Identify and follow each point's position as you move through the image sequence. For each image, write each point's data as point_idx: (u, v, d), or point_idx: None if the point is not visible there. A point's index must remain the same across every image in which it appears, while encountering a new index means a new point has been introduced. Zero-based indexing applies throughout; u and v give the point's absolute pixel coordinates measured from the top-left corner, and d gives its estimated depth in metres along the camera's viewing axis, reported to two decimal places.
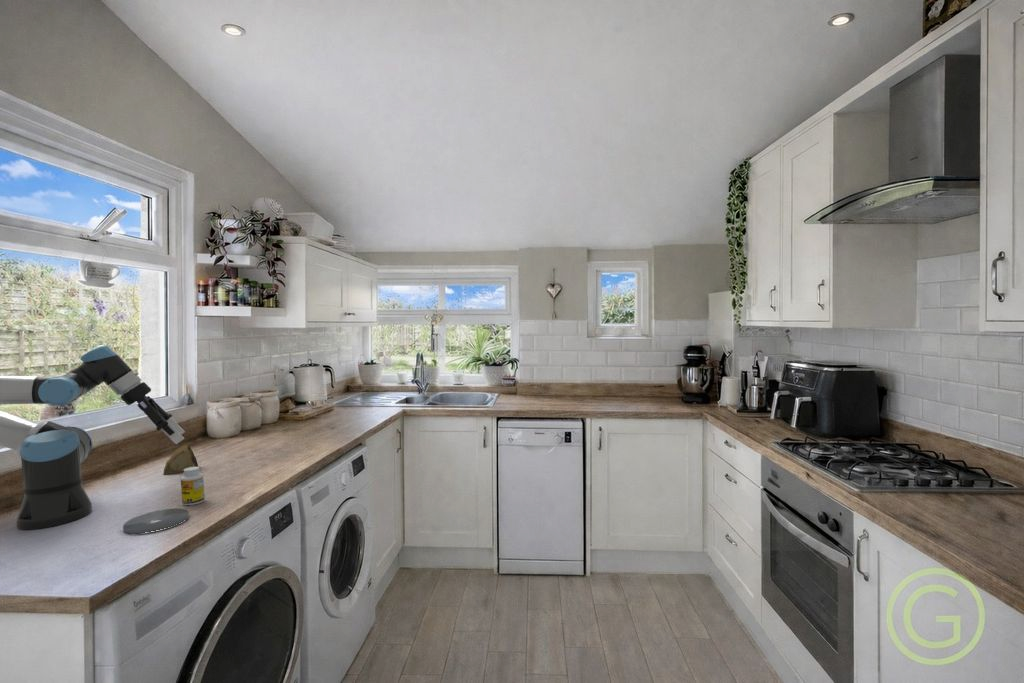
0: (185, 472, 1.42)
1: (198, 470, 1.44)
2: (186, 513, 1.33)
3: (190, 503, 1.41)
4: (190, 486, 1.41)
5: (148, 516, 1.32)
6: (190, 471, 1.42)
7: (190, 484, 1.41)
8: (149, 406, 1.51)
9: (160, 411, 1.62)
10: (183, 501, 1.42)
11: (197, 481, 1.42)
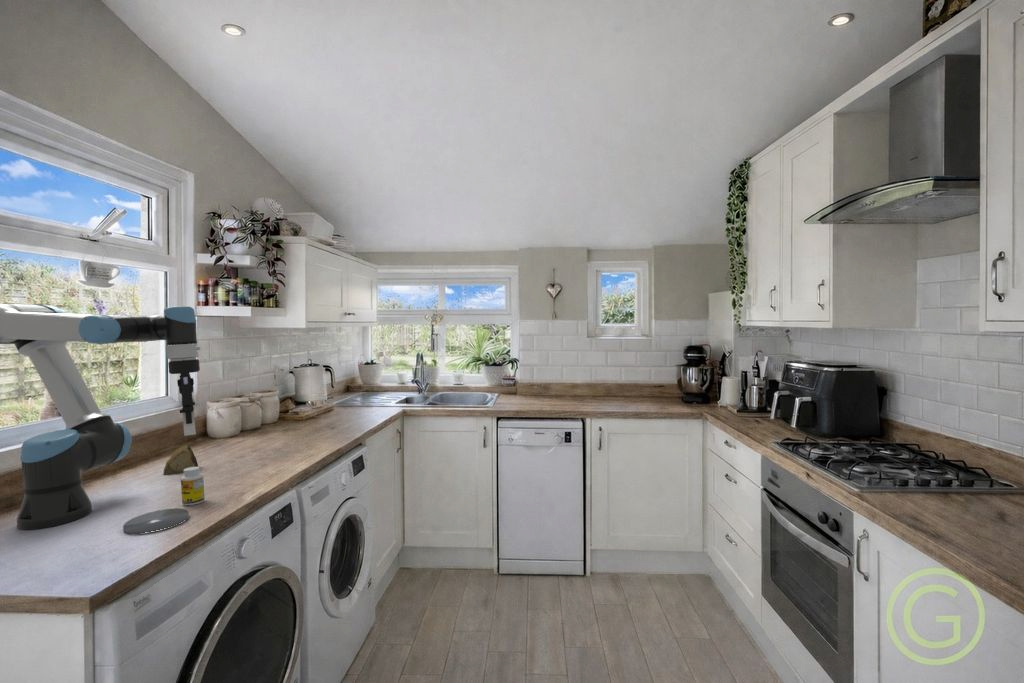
0: (185, 472, 1.42)
1: (198, 470, 1.44)
2: (186, 513, 1.33)
3: (190, 503, 1.41)
4: (190, 486, 1.41)
5: (148, 516, 1.32)
6: (190, 471, 1.42)
7: (190, 484, 1.41)
8: (189, 385, 1.38)
9: None
10: (183, 501, 1.42)
11: (197, 481, 1.42)
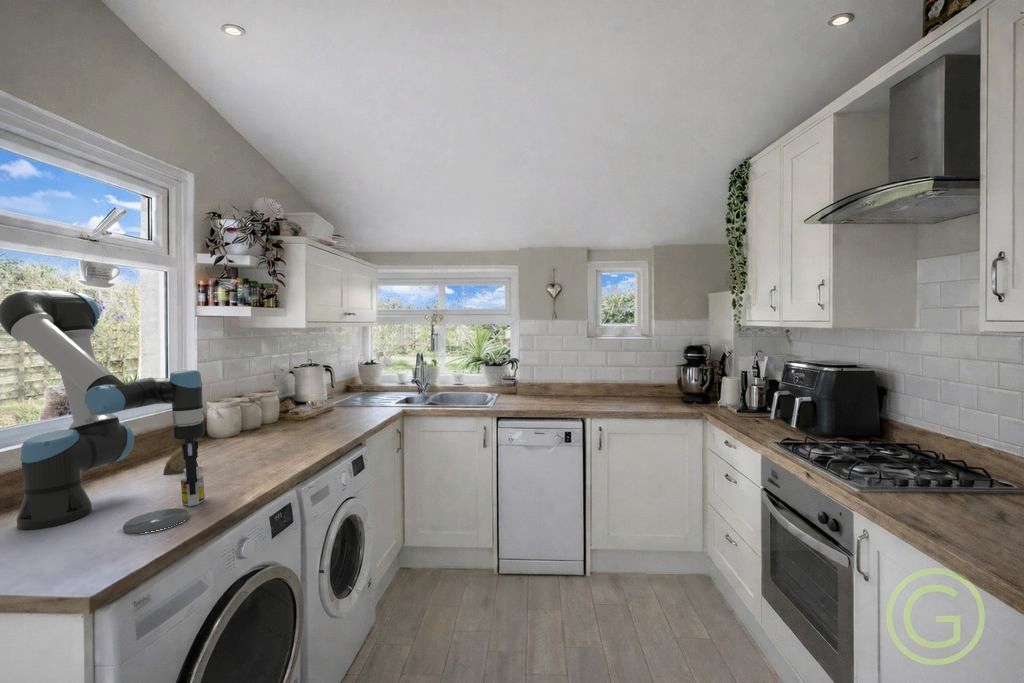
0: (185, 472, 1.42)
1: (198, 470, 1.44)
2: (186, 513, 1.33)
3: None
4: None
5: (148, 516, 1.32)
6: None
7: None
8: (193, 457, 1.39)
9: None
10: (183, 501, 1.42)
11: None
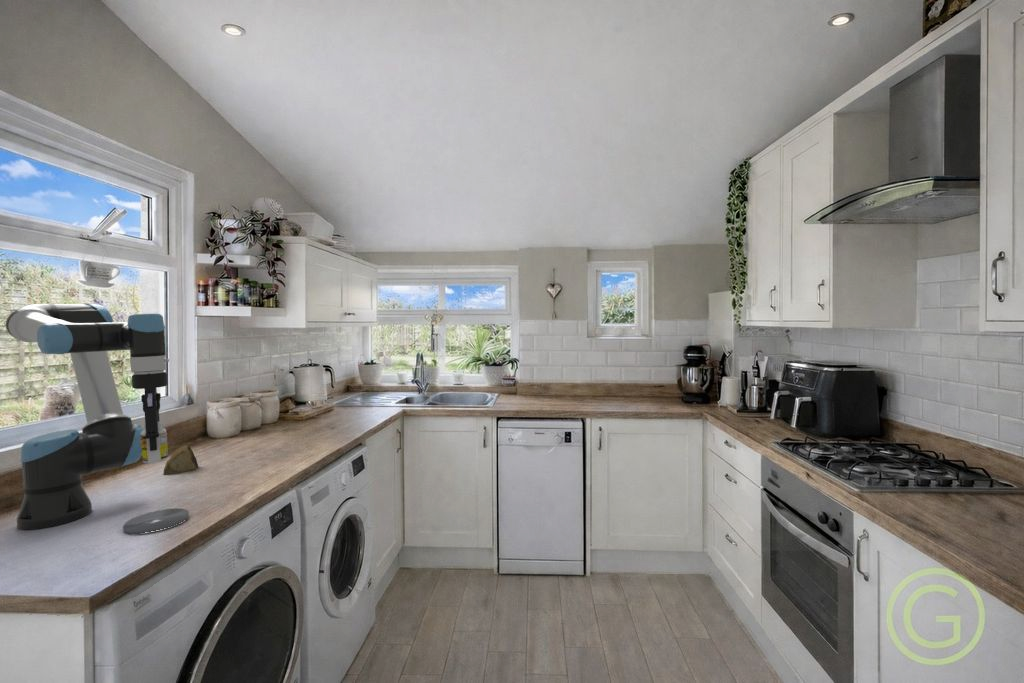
0: None
1: (160, 424, 1.29)
2: (186, 513, 1.33)
3: None
4: None
5: (148, 516, 1.32)
6: None
7: None
8: (154, 408, 1.24)
9: None
10: (143, 459, 1.27)
11: (159, 436, 1.28)
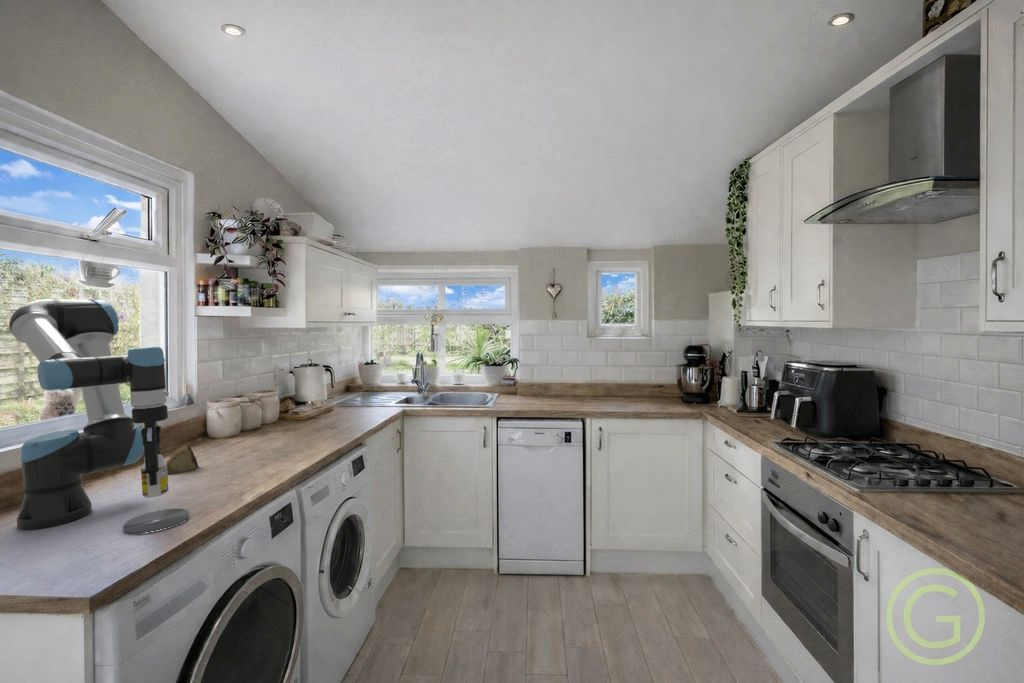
0: None
1: (161, 458, 1.29)
2: (186, 513, 1.33)
3: None
4: None
5: (148, 516, 1.32)
6: None
7: None
8: (154, 442, 1.24)
9: None
10: (143, 493, 1.27)
11: (159, 470, 1.28)
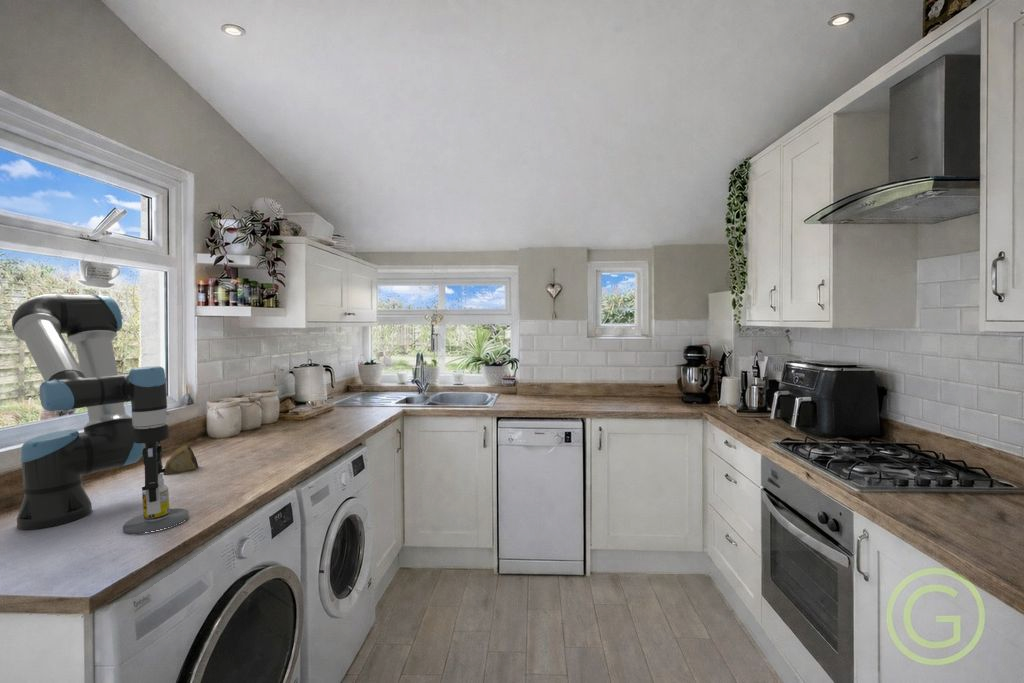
0: None
1: (162, 482, 1.29)
2: (186, 513, 1.33)
3: (152, 519, 1.27)
4: None
5: None
6: None
7: None
8: (154, 458, 1.23)
9: None
10: (145, 517, 1.27)
11: (161, 494, 1.28)
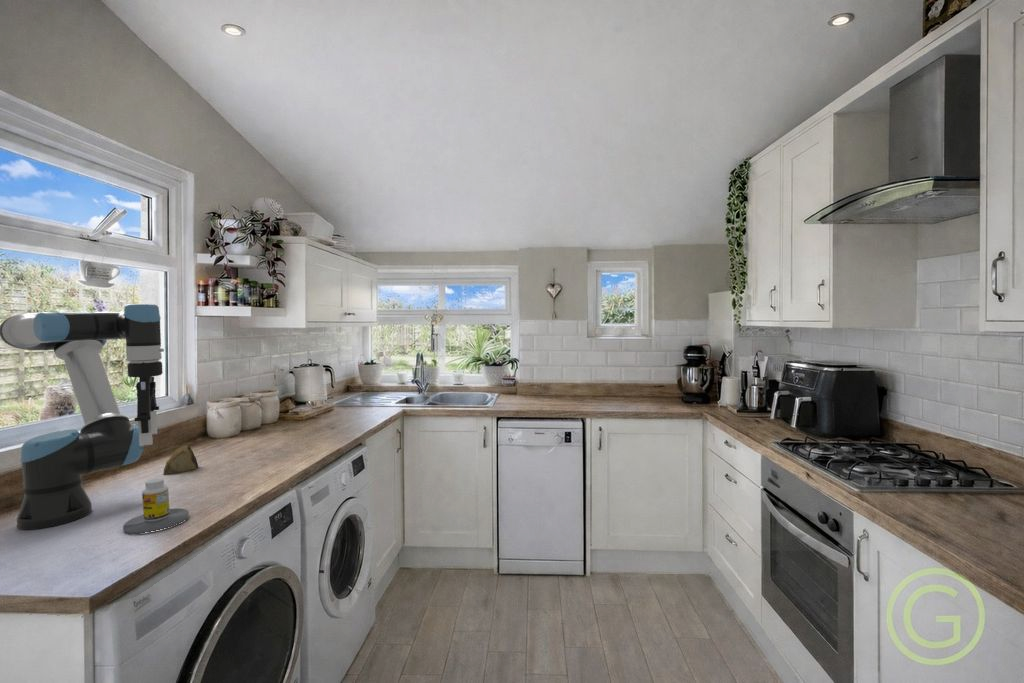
0: (147, 485, 1.27)
1: (162, 482, 1.29)
2: (186, 513, 1.33)
3: (152, 519, 1.27)
4: (152, 500, 1.27)
5: None
6: (152, 483, 1.27)
7: (153, 498, 1.27)
8: (147, 391, 1.27)
9: (152, 399, 1.37)
10: (145, 517, 1.27)
11: (161, 494, 1.28)
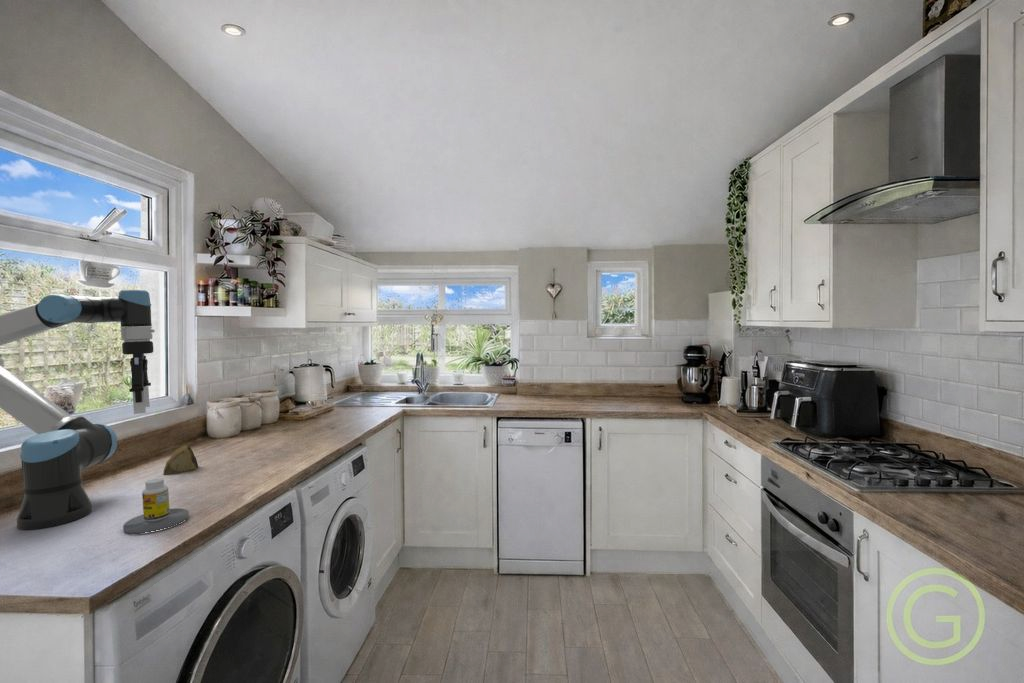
0: (147, 485, 1.27)
1: (162, 482, 1.29)
2: (186, 513, 1.33)
3: (152, 519, 1.27)
4: (152, 500, 1.27)
5: None
6: (152, 483, 1.27)
7: (153, 498, 1.27)
8: (140, 365, 1.44)
9: (144, 375, 1.54)
10: (145, 517, 1.27)
11: (161, 494, 1.28)
